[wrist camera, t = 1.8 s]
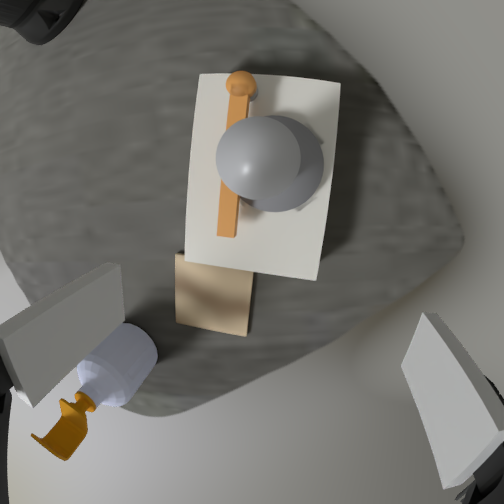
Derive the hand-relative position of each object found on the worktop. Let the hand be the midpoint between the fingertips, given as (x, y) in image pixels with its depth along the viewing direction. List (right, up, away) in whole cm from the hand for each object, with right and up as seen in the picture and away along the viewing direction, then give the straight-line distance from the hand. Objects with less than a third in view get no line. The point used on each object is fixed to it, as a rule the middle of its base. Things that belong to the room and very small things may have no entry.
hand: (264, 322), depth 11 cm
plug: (+3, +12, +20) cm, 24 cm away
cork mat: (-6, -3, +26) cm, 26 cm away
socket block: (+1, +12, +20) cm, 24 cm away
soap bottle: (-19, -12, +31) cm, 39 cm away
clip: (-2, +12, +14) cm, 18 cm away
